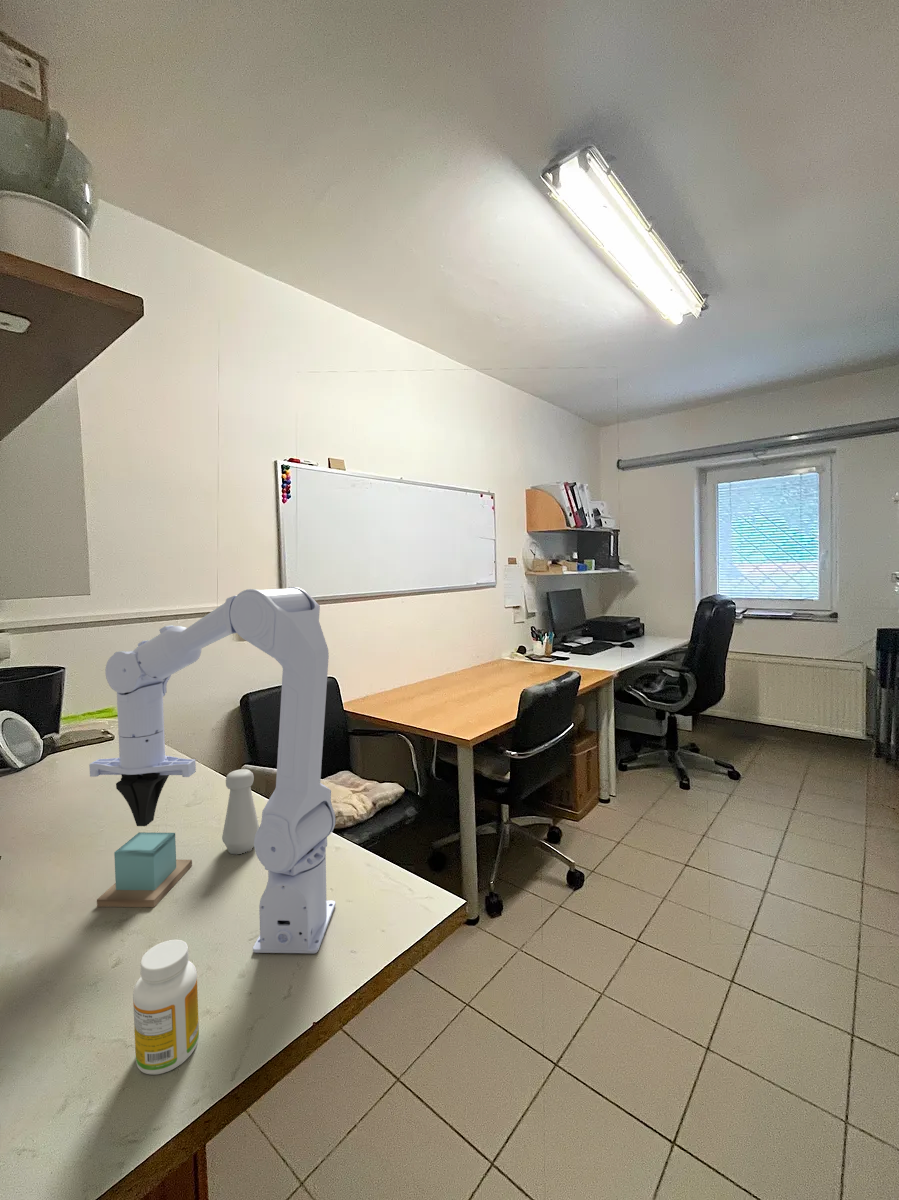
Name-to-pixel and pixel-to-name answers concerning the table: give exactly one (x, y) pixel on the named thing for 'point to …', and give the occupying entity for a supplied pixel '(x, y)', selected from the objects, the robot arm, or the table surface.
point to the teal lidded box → (145, 861)
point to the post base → (143, 891)
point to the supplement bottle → (165, 1008)
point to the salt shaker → (240, 813)
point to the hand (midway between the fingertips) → (145, 823)
